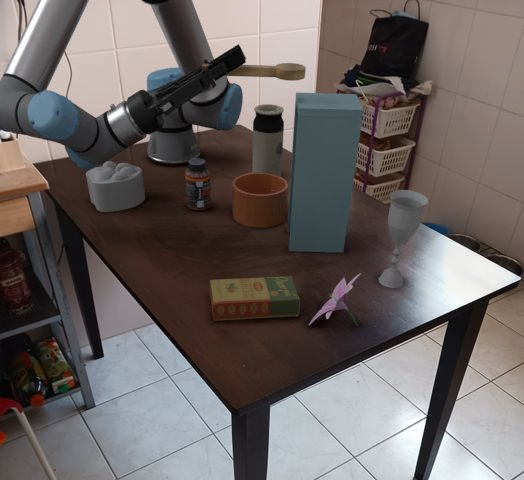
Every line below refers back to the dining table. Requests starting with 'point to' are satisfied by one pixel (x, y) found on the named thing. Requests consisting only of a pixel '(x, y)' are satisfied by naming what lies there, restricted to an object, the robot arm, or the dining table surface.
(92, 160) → the robot arm
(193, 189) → the supplement bottle
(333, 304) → the lily
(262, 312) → the carton
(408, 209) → the chalice
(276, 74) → the tan disc-ended rod
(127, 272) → the dining table surface
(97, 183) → the lumpy-topped squat cylinder
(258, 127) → the travel mug
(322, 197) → the teal bin
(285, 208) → the pot
